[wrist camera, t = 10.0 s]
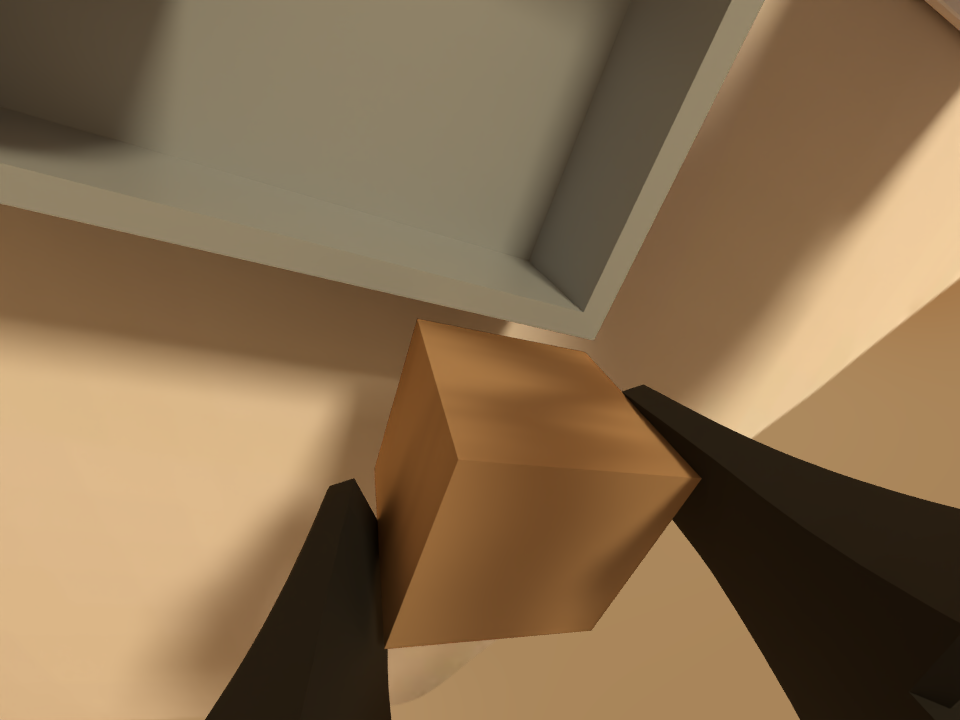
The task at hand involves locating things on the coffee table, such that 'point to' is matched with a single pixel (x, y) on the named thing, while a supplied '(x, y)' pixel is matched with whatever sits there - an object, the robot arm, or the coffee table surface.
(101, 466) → the coffee table surface
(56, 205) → the slate tote
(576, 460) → the walnut cube
